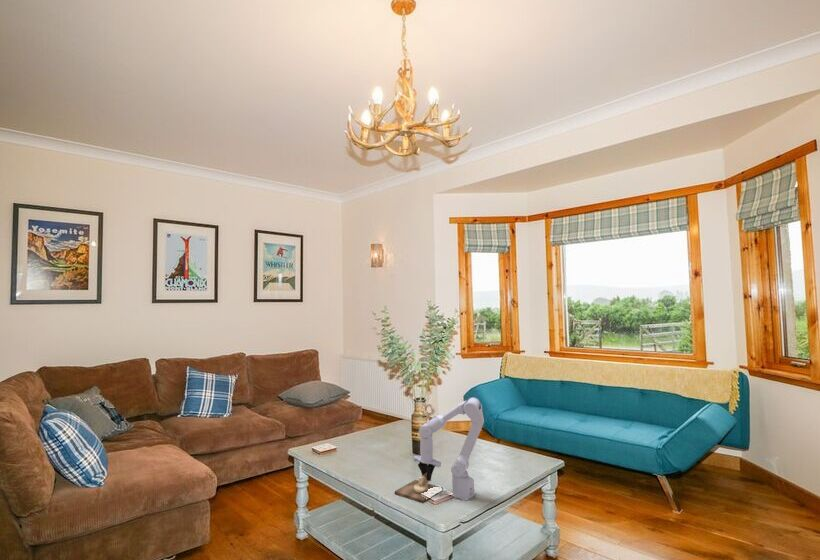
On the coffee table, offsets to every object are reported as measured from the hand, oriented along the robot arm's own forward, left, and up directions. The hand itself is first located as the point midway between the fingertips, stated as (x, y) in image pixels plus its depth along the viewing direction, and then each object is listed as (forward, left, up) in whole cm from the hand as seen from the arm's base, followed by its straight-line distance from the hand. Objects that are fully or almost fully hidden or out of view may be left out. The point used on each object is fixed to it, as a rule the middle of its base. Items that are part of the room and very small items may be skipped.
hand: (427, 479), depth 209 cm
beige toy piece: (0, +3, -4) cm, 4 cm away
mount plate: (+2, +4, -5) cm, 7 cm away
